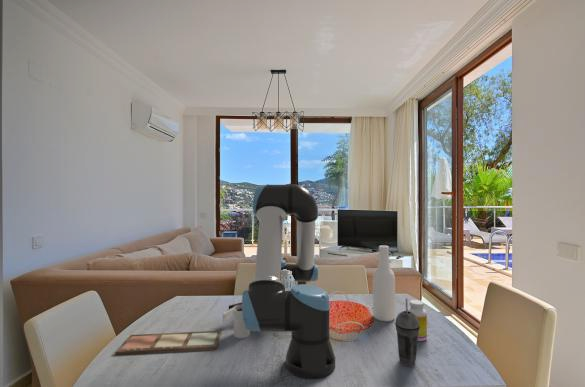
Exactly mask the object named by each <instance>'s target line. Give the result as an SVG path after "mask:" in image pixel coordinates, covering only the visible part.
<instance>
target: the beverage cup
mask: <svg viewBox="0 0 585 387" xmlns="http://www.w3.org/2000/svg"><path fill="white" fill-rule="evenodd" d="M408 308H409V307H408V298H405V310H404V311H401V312H399V313H398V314H397V315H396V317H395V322H394V324H395V330H396V338H397V347H398V348H397V349H398V351H397V352H398V357H399V358H398V359H399V363H400V364H401V365H402V366H403V365H404V366H405V367H412V366H415V365H416V359H417V351H418V350H417V349H418V341H417V339H418V333H419V328H420V325H419V321H418V318H417V317H416V316H415V315H414V314H413V313H412V312H409V311H408Z"/></svg>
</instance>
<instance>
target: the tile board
mask: <svg viewBox="0 0 585 387" xmlns="http://www.w3.org/2000/svg"><path fill="white" fill-rule="evenodd" d="M221 333H222V330H207V331H202V330H201V331H186V332H168V333H167V332H166V333H165V332H164V333H163V332H161V333H145V334H144V333H142V334H141V333H139V334H130V335H129V337H128V338H126V340H125V341H124V342H122V344H121V345H120V346H119V348H118V349H117V350H116V351H115V356H123V355H124V356H126V355H141V354H142V355H143V354H144V355H145V354H162V353H177V352H178V353H180V352H195V351H196V352H197V351H198V352H199V351H201V352H202V351H215V350H217V348H218V344H219V341H220V337H221Z"/></svg>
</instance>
